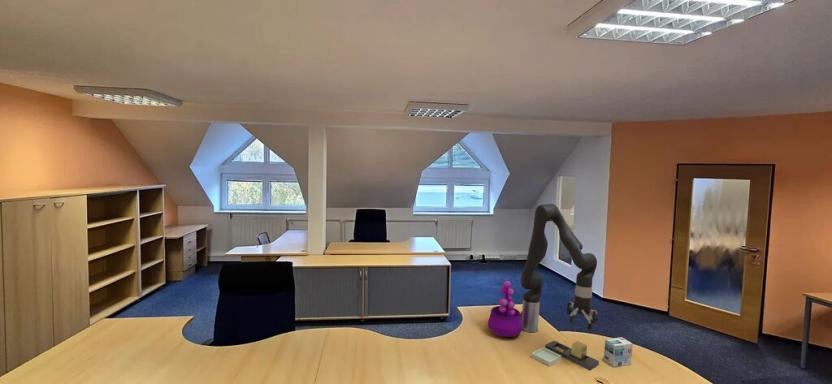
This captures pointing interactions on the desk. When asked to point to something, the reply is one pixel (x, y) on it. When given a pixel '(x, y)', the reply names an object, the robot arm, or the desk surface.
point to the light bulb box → (618, 352)
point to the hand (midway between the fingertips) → (580, 326)
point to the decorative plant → (505, 315)
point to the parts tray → (546, 356)
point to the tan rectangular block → (579, 351)
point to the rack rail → (586, 363)
